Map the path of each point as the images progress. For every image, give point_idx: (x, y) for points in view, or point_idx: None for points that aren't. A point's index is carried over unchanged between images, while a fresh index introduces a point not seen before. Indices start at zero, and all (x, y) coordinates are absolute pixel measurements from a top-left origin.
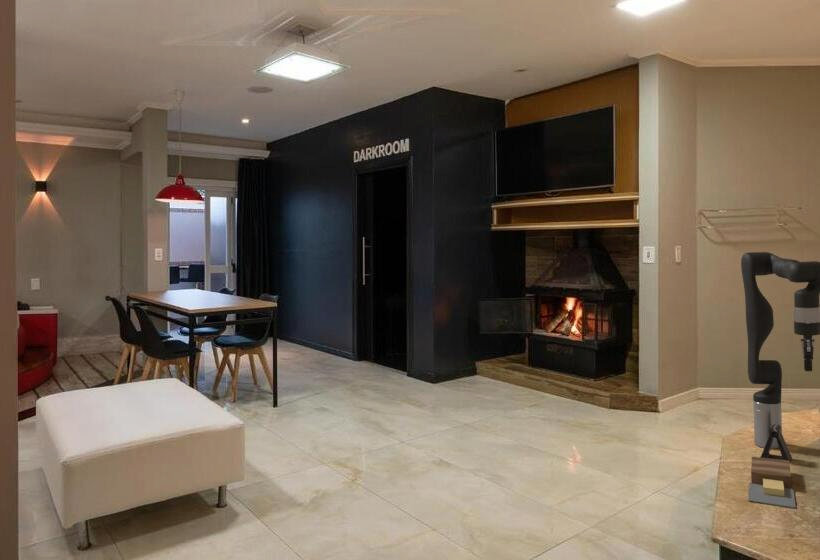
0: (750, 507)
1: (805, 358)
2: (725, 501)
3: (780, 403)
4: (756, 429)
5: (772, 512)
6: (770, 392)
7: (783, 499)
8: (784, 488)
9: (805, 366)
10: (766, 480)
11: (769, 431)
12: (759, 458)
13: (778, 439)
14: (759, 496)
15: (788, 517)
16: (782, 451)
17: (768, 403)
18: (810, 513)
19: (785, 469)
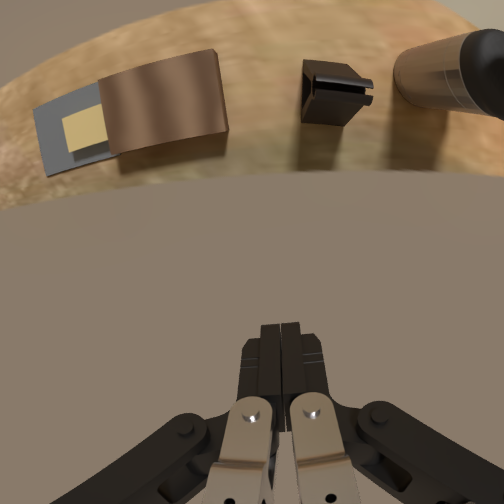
0: (18, 120)
1: (169, 429)
2: (20, 82)
3: (485, 113)
4: (422, 46)
5: (19, 151)
6: (498, 81)
7: (63, 152)
8: None
9: (260, 354)
10: (97, 111)
11: (314, 73)
12: (205, 66)
13: (310, 98)
14: (53, 116)
15: (18, 174)
16: (305, 108)
17: (461, 71)
18: (45, 197)
19: (152, 135)
